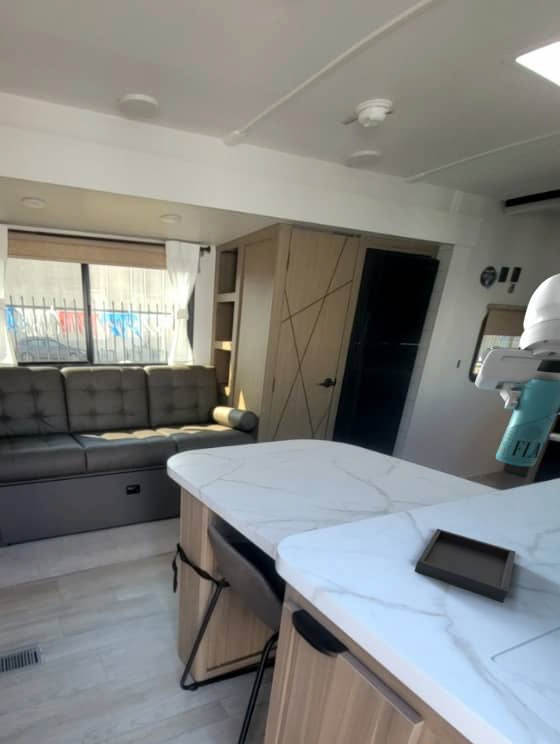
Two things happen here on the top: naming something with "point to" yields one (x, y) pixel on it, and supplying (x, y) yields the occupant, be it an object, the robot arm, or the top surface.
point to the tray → (468, 564)
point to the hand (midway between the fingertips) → (537, 410)
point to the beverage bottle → (532, 418)
